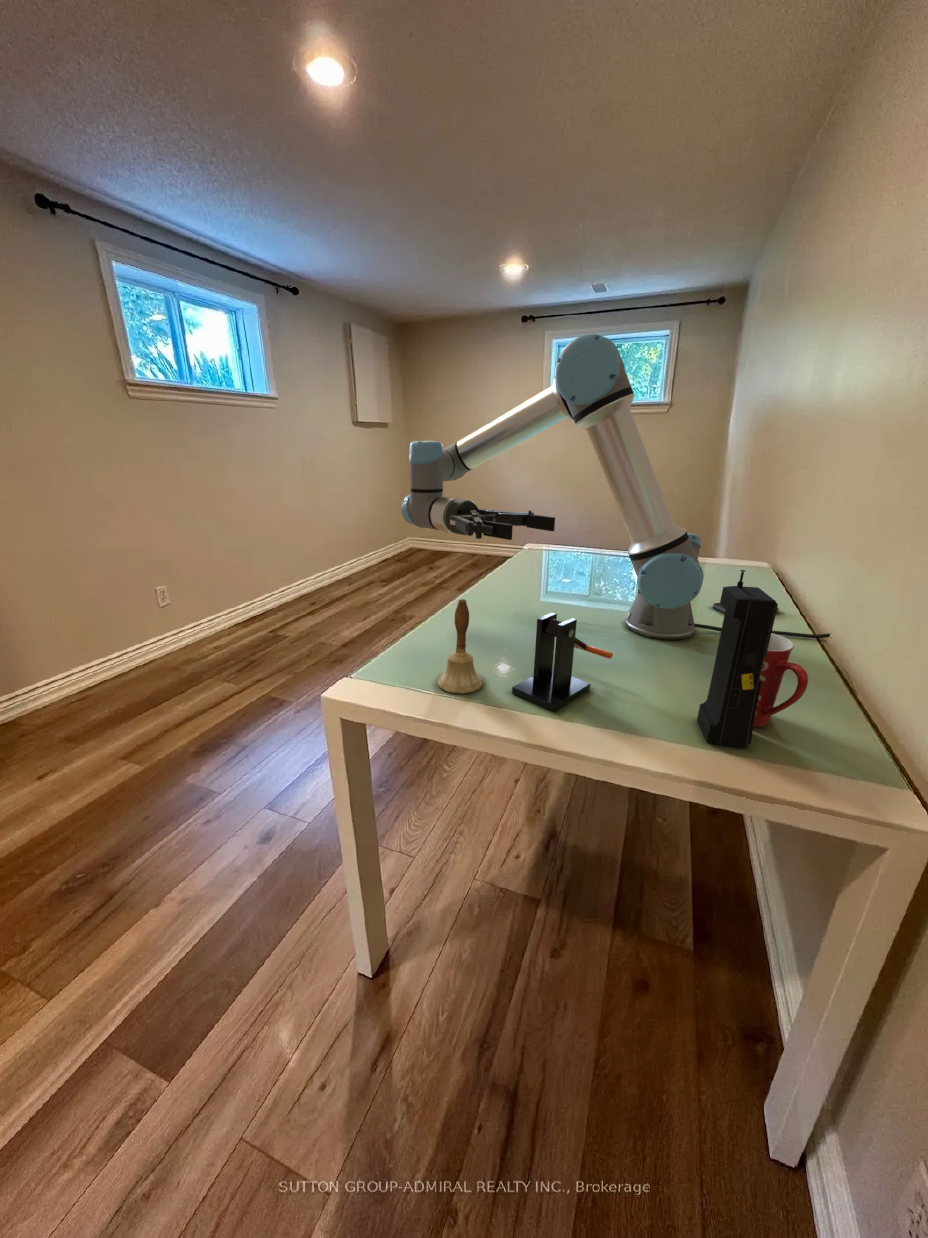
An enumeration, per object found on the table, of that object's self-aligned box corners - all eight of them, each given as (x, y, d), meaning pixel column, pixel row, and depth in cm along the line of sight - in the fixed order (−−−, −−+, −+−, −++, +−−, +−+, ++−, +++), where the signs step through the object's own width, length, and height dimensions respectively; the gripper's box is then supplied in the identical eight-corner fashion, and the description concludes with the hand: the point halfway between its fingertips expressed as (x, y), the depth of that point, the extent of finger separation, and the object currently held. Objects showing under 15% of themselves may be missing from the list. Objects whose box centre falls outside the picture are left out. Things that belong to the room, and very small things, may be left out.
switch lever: (558, 645, 96) (563, 634, 96) (610, 662, 89) (614, 650, 89) (523, 624, 85) (528, 612, 85) (578, 642, 78) (583, 628, 78)
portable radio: (753, 754, 70) (795, 586, 62) (708, 748, 71) (744, 583, 63) (736, 724, 77) (772, 570, 69) (695, 720, 78) (726, 568, 70)
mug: (699, 706, 83) (714, 631, 78) (741, 698, 85) (757, 625, 81) (763, 748, 71) (785, 664, 67) (809, 737, 74) (833, 656, 70)
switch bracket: (548, 673, 94) (553, 605, 89) (589, 690, 88) (597, 617, 83) (511, 693, 86) (515, 620, 81) (554, 712, 80) (561, 634, 76)
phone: (711, 603, 132) (757, 599, 135) (710, 607, 132) (756, 603, 135) (732, 612, 124) (781, 608, 128) (732, 617, 125) (780, 612, 128)
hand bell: (472, 670, 95) (474, 591, 89) (489, 689, 87) (492, 604, 82) (431, 676, 92) (430, 595, 86) (445, 697, 85) (445, 610, 79)
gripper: (492, 526, 118) (567, 539, 104) (413, 540, 101) (489, 557, 87) (493, 494, 115) (570, 503, 102) (412, 503, 99) (491, 514, 85)
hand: (533, 528), depth 94 cm, fingers open, 13 cm apart
